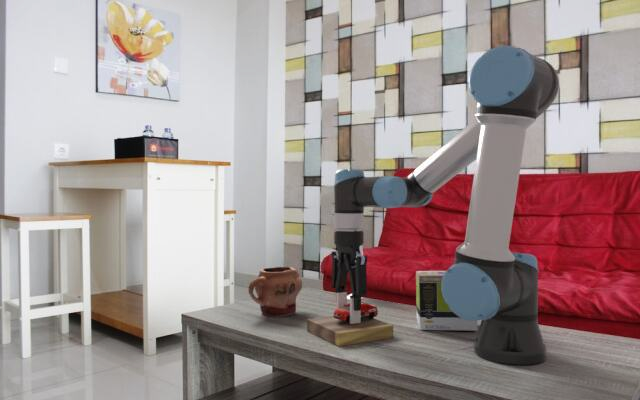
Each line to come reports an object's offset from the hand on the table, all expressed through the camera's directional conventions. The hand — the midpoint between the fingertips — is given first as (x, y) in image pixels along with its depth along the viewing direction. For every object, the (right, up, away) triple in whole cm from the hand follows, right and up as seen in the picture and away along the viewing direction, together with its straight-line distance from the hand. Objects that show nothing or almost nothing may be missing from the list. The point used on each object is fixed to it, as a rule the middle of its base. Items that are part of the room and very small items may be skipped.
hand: (348, 319), depth 131 cm
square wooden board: (0, -4, 0) cm, 4 cm away
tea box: (+27, -4, +8) cm, 28 cm away
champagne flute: (+5, -4, +46) cm, 47 cm away
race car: (0, -2, -1) cm, 3 cm away
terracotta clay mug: (-21, -4, +21) cm, 30 cm away
